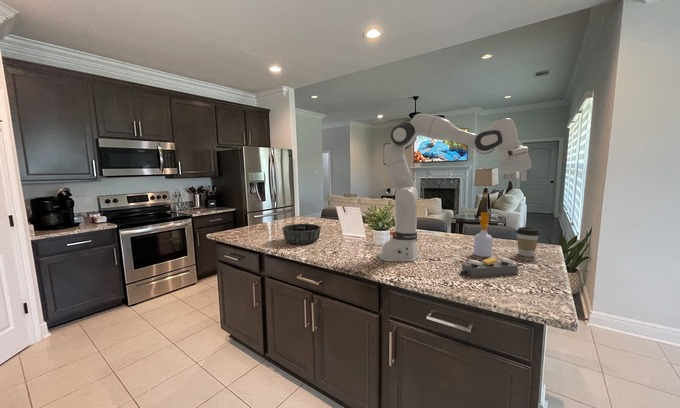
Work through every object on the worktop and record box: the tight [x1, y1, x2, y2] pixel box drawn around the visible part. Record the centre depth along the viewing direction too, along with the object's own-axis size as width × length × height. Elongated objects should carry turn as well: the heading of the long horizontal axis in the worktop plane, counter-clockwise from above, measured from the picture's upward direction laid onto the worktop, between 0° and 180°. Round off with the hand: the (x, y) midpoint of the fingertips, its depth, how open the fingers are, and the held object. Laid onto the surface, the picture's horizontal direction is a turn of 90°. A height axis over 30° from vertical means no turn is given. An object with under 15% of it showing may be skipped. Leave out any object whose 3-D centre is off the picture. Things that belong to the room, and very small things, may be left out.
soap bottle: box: [473, 211, 493, 258], centre depth 160 cm, size 9×9×25 cm
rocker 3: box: [497, 256, 514, 263], centre depth 134 cm, size 5×3×1 cm, turn 101°
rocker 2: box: [482, 257, 498, 265], centre depth 133 cm, size 5×3×1 cm, turn 101°
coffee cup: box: [515, 226, 541, 258], centre depth 161 cm, size 11×11×15 cm
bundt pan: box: [281, 223, 322, 245], centre depth 194 cm, size 26×26×10 cm
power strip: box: [459, 260, 519, 278], centre depth 133 cm, size 27×7×5 cm, turn 101°
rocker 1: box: [467, 259, 483, 265], centre depth 132 cm, size 5×3×1 cm, turn 101°
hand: (518, 181), depth 131 cm, fingers open, 8 cm apart
